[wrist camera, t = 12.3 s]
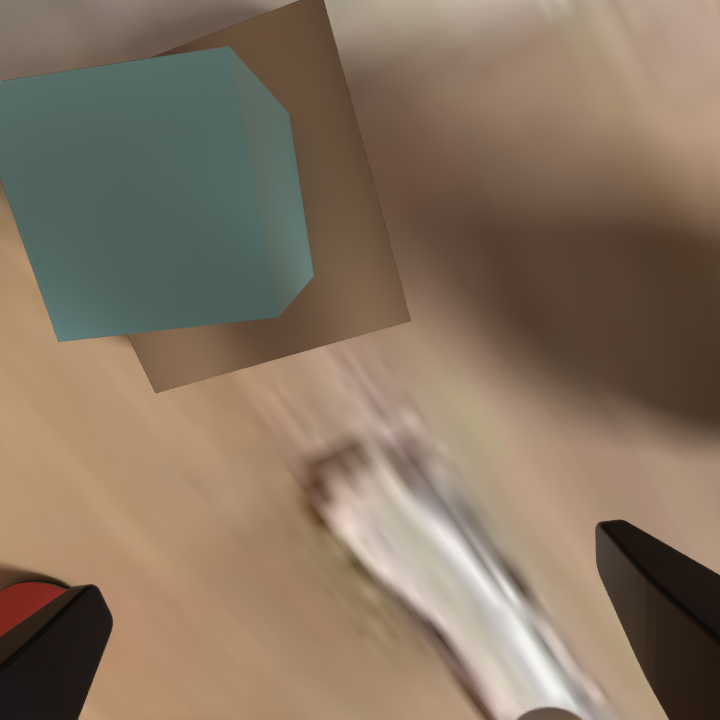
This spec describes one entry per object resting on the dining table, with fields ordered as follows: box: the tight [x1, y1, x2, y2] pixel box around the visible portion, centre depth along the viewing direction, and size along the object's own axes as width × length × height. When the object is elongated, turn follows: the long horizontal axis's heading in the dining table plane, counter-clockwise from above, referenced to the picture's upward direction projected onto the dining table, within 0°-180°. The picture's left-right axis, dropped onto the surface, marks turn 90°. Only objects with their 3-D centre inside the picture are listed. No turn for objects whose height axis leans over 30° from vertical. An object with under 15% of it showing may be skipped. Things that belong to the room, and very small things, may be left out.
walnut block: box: [127, 0, 411, 393], centre depth 17 cm, size 10×10×4 cm
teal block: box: [0, 46, 314, 342], centre depth 12 cm, size 5×5×6 cm
